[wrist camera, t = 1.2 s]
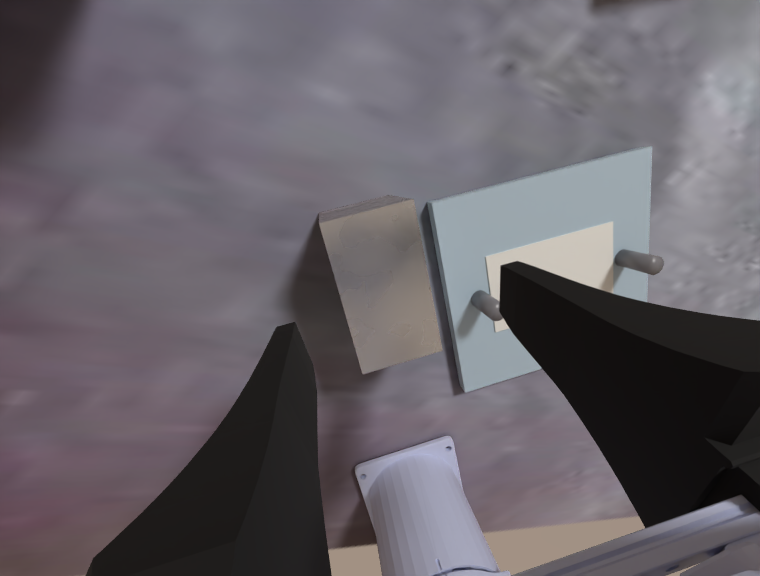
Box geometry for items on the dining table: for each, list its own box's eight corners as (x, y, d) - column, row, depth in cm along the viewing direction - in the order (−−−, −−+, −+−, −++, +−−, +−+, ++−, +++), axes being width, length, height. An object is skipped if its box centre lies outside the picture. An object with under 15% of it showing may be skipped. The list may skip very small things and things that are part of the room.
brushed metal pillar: (388, 194, 21) (413, 199, 15) (413, 310, 24) (442, 350, 18) (319, 212, 21) (318, 223, 15) (352, 327, 23) (362, 374, 18)
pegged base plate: (634, 330, 27) (678, 350, 24) (459, 385, 26) (480, 414, 23) (638, 147, 23) (692, 141, 19) (426, 202, 21) (446, 205, 18)
